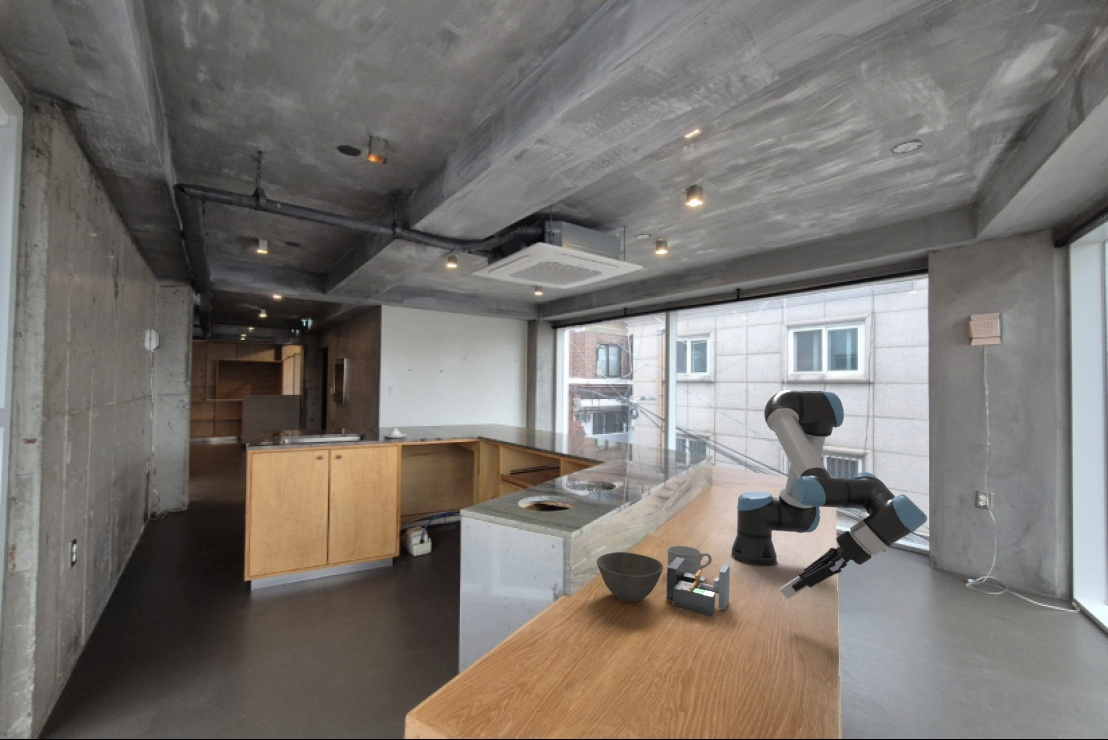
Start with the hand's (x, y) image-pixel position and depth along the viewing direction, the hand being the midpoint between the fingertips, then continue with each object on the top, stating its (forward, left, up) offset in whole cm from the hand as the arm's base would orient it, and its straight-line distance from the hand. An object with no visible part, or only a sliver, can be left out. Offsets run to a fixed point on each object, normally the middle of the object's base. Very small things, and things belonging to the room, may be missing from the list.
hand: (784, 593), depth 123 cm
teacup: (-17, -29, -7) cm, 34 cm away
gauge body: (+2, -23, -7) cm, 24 cm away
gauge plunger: (0, -18, -7) cm, 19 cm away
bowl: (+10, -39, -7) cm, 41 cm away
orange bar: (+3, -22, -2) cm, 23 cm away
